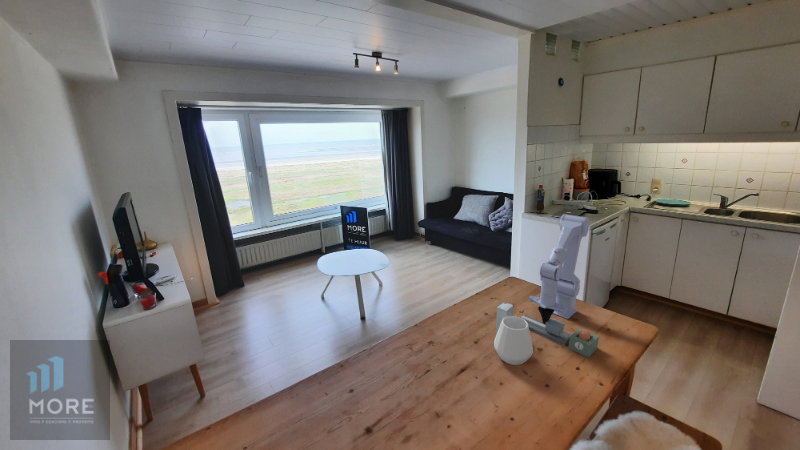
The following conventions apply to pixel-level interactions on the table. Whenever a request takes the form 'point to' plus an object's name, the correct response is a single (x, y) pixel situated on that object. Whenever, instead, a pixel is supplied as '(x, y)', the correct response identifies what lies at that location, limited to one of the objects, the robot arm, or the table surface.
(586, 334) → the button
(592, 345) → the cabinet
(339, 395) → the table surface
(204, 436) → the table surface
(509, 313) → the skincare box
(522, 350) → the cup
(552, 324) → the carriage
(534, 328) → the rail base
